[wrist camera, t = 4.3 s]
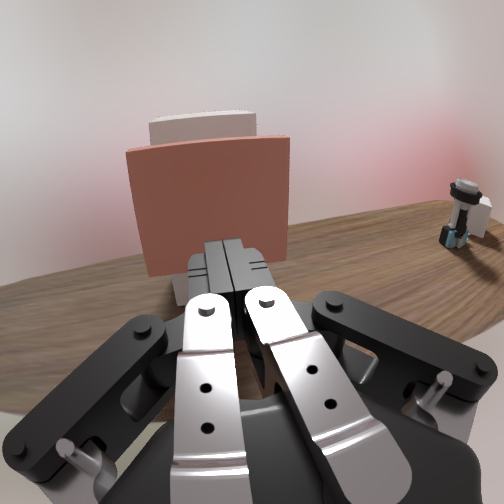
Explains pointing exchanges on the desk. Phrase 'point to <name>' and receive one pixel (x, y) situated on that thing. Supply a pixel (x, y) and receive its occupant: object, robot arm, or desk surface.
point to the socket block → (199, 129)
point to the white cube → (479, 217)
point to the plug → (210, 197)
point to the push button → (460, 213)
